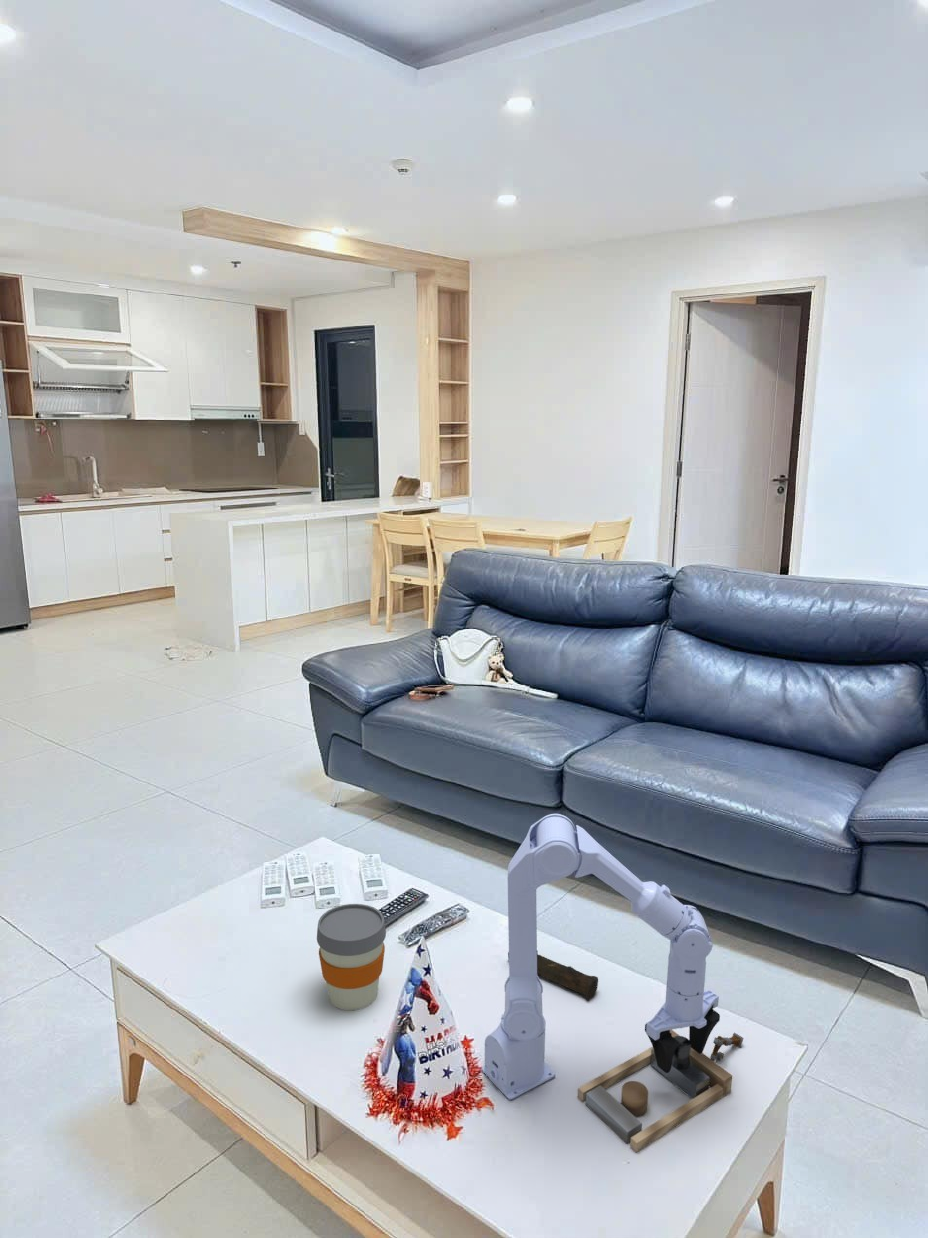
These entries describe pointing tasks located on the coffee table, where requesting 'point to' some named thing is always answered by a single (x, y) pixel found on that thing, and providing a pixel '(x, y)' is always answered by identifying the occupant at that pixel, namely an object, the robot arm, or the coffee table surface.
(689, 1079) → the block
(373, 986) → the reusable coffee cup
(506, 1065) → the robot arm
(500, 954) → the coffee table surface
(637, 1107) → the brown wooden cylinder
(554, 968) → the dark brown log
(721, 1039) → the jointed folding linkage
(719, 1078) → the vise frame
